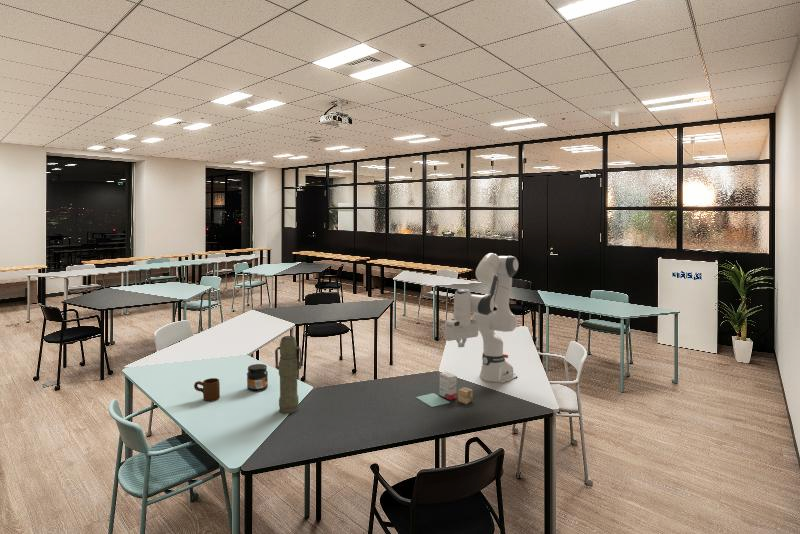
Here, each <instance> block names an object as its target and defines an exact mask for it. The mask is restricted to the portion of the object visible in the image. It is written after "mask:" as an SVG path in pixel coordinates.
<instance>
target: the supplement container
mask: <svg viewBox="0 0 800 534" xmlns="http://www.w3.org/2000/svg"><path fill="white" fill-rule="evenodd" d="M267 367H268V366H267V365H266V364H263V363H256V364H251V365H249V366H248V367H247V372H246V382H247V383H246V385H247V386H246V388H247V390H248V391H250V392H255V393H256V392H257V393H258V392H262V391H265V390H267V389H268V387H269V383H268V382H269V381H268V371H267V370H268V369H267Z"/></svg>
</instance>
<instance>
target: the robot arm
mask: <svg viewBox="0 0 800 534" xmlns="http://www.w3.org/2000/svg"><path fill="white" fill-rule="evenodd" d="M518 271H519V260H518V259H517V257H516V256H512V255H498V254H496V253H493V252H489V253H487V254H485V255H484V256H483V257H482V259H481V260H480V261H479V263H478V265H477V266H476V268H475V277H476V279H477V280H478V281H479V283H481V284H482V285H485V286H487V291H486V293H485V294H475V293H471V290H470V289H468V288H459V289H457V290H455V293H454V297H453V309H454V311H453V316H451V317H450V318H448V319H446V320H445V323H444V324H445V327H444V333H443V338H444V340H445V341H447V342H451V341H456V343H457V347H458V348H465V345H466V342H467V339H469V338H470V339H471V338H478V336H479V334H480V335H481V337H482V341H483V342H482V343H483V344H482V345H483V347H482V349H483V350H482V351H483V352H482V356H481V357H482V358H481V359H482V363H481V370H480V371H479V372H480V374H479V378H480V379H481V380H484V381H486V382H490V383H491V382H493V383H500V384H501V383H502V384H503V383H506V381H507V382H509V381H511V380H514V379H517V378H518V374H516V373H515V372H514V367H513V365H512V364H510V363H509V362H508V361H506V359H508V358H509V355H508V354H505V353H504V341H503V340H502V338H501V337H500V336H498V335H497V334H496V332H503V333H507V332H510V333H511V332H514V331H515V329H516V328H517V325H518V319H517V317H516V315H515V314H513V312H512V311H511V309H510V297H511V292H512V288H513V287H512V286H513V278H514V276H515V275H516V273H517V272H518ZM494 308H496V309H495V310H494ZM472 313H473V314H472ZM471 314H472V316H471ZM495 331H496V332H495ZM516 377H517V378H516Z"/></svg>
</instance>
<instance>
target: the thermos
mask: <svg viewBox="0 0 800 534" xmlns="http://www.w3.org/2000/svg"><path fill="white" fill-rule="evenodd" d="M297 350H299V351H298V353H299V354H298V355H299V357H298V355H297ZM278 352H279V353H278ZM279 356H280V357H279ZM298 359H299V361H298ZM274 360H275V369H276V370H277V371H278V376H279V399H278V407H279V413H280V414H283V415H290V414H294V413H297V412H298V411H299V404H300V403H299V394H298V374H299V370H301V369H302V349H301V347H300V346H298V345H297V340H296V337H294V336H293V335H285V336H282V337H281V338H280V343H279V346H278V347H276V348H275V350H274Z"/></svg>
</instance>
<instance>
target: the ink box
mask: <svg viewBox="0 0 800 534" xmlns="http://www.w3.org/2000/svg"><path fill="white" fill-rule="evenodd" d="M457 380H458V378H457V375H455V374H453V373H451V372H448V371H443V372H439V396H440V397H442V398H444V399H445V398H446V400H449V401H451V400H455V399H457V398H458V394H457V393H458V388H457V386H458V385H457V383H458V382H457Z"/></svg>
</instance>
